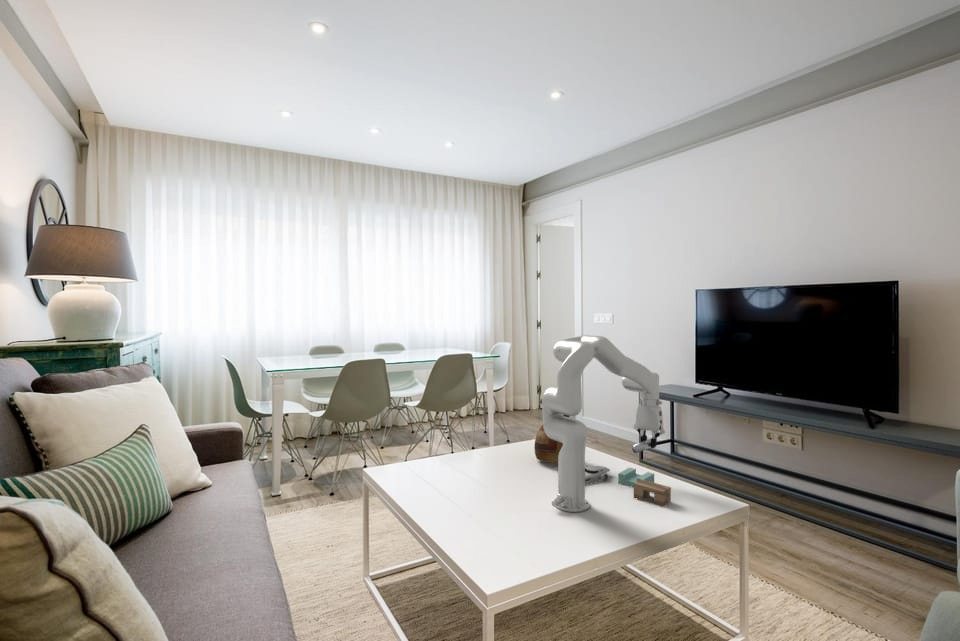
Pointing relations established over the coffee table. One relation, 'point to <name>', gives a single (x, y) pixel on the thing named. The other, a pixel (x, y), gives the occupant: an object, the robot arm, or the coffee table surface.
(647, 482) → the wooden bridge block
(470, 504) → the coffee table surface
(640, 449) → the axle
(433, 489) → the coffee table surface
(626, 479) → the v block
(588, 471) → the car model
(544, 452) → the ceramic pitcher
